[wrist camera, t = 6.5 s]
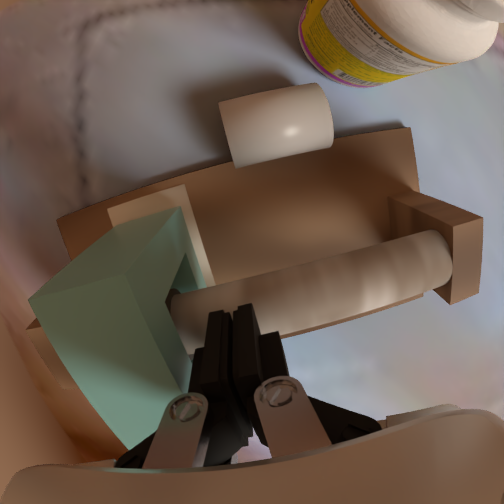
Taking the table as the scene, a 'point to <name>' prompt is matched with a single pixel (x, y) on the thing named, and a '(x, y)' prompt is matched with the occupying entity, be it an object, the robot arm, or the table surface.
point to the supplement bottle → (394, 36)
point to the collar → (124, 320)
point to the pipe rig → (299, 239)
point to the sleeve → (277, 123)
